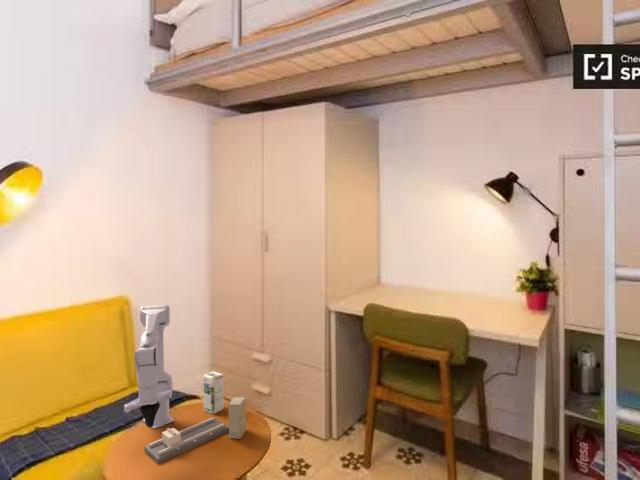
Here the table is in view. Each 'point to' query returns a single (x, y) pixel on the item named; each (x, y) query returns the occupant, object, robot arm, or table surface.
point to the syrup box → (213, 392)
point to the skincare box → (237, 417)
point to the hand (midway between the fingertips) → (149, 425)
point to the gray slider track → (187, 439)
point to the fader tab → (171, 437)
